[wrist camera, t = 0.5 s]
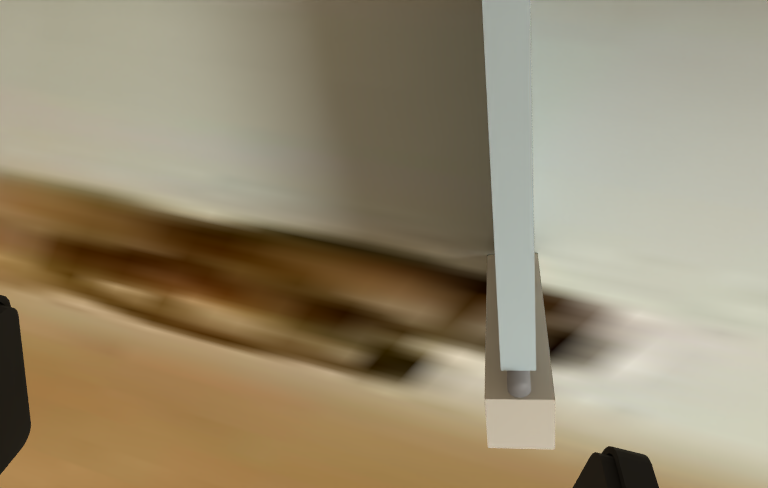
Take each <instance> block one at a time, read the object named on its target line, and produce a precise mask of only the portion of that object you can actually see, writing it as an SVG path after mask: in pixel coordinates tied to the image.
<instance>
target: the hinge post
mask: <svg viewBox="0 0 768 488" xmlns="http://www.w3.org/2000/svg"><path fill="white" fill-rule="evenodd" d="M534 263H535V326H536V371H530V380H531V392H530V394H529V395H527V396H526V397H522V398H517V397H514V396H512V395H510V394H509V392H508V390H507V371H501V365H500V345H499V325H498V306H497V286H496V267H495V255H487V297H486V353H485V411H486V426H487V440H488V448H518V449H555V395H554V386H553V378H552V370H551V361H550V353H549V345H548V336H547V328H546V320H545V311H544V303H543V295H542V286H541V278H540V269H539V261H538V253H534Z"/></svg>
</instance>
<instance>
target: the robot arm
mask: <svg viewBox="0 0 768 488" xmlns="http://www.w3.org/2000/svg"><path fill="white" fill-rule="evenodd" d="M30 428H31V421H30V412H29V403H28V395H27V386H26V377H25V368H24V360H23V351H22V342H21V333H20V325H19V316H18V312H17V310H16V309H15V308H12V307H11V305H10V302H9V300H8V299H7V297H5V296H2V295H0V474H1V473H2V472H3V471H4V469H5V468H6V467H7V466H8V464H9V463H10V462H11V461H12V460H13V458H14V457H15V456H16V455H17V453H18V452H19V451H20V450H21V448H22V447H23V445H24V444H25V442H26V440H27V438H28V436H29V433H30ZM573 488H659V486H658V483H657V480H656V477H655V474H654V470H653V467H652V464H651V462H650V460H649V458H648V457H647V456H646V455H643V454H639V453H635V452H631V451H627V450H623V449H619V448H615V447H611V446H608V447H607V448H605V449H604V451H603V452H602V454H600V453H596V452H595V453H593V454H592V455H591V456H590V458H589V460H588V462H587V463H586V465H585V467H584V469H583V470H582V472H581V474H580V476H579V478H578V479H577V481H576V483H575V485H574V486H573Z"/></svg>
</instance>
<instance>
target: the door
mask: <svg viewBox="0 0 768 488" xmlns="http://www.w3.org/2000/svg"><path fill="white" fill-rule="evenodd" d="M482 12H483V32H484V51H485V71H486V91H487V110H488V130H489V149H490V169H491V188H492V208H493V228H494V247H495V267H496V286H497V306H498V325H499V345H500V365H501V371H507V390H508V392H509V394H510V395H512V396H514V397H517V398H522V397H526V396H527V395H529V394H530V392H531V380H530V371H536V326H535V263H534V200H533V136H532V73H531V10H530V0H482Z"/></svg>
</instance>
